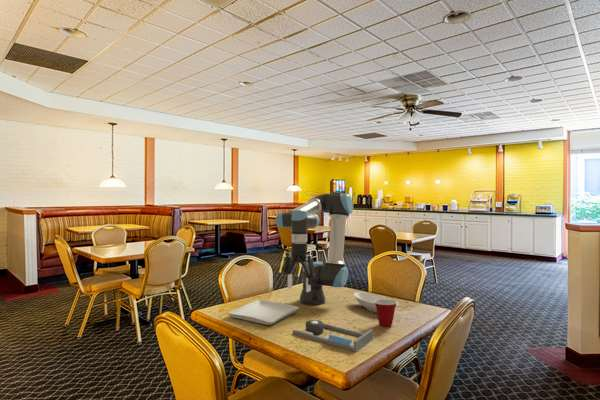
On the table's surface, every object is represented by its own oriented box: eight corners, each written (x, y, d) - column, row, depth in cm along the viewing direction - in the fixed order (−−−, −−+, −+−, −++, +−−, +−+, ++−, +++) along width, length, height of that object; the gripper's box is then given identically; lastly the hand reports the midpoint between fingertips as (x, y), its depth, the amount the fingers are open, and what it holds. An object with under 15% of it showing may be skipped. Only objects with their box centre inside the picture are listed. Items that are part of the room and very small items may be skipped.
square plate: (258, 305, 201) (258, 298, 201) (300, 313, 187) (300, 306, 187) (226, 319, 177) (226, 311, 177) (271, 329, 164) (271, 321, 164)
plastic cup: (388, 320, 176) (388, 296, 176) (401, 328, 166) (401, 302, 166) (369, 323, 172) (369, 298, 172) (382, 330, 162) (382, 305, 162)
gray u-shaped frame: (292, 333, 158) (292, 324, 158) (312, 323, 171) (312, 315, 171) (355, 352, 139) (355, 342, 139) (372, 339, 152) (373, 329, 152)
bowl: (405, 315, 185) (405, 303, 185) (385, 320, 177) (385, 308, 177) (365, 301, 210) (365, 290, 210) (346, 305, 202) (346, 294, 202)
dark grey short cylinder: (302, 332, 160) (302, 322, 160) (312, 327, 166) (312, 317, 166) (317, 336, 155) (317, 326, 155) (326, 331, 162) (326, 321, 162)
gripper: (275, 241, 169) (275, 287, 169) (315, 245, 156) (314, 295, 156) (285, 240, 175) (284, 284, 175) (324, 243, 162) (323, 291, 162)
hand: (298, 289), depth 166 cm, fingers open, 10 cm apart
